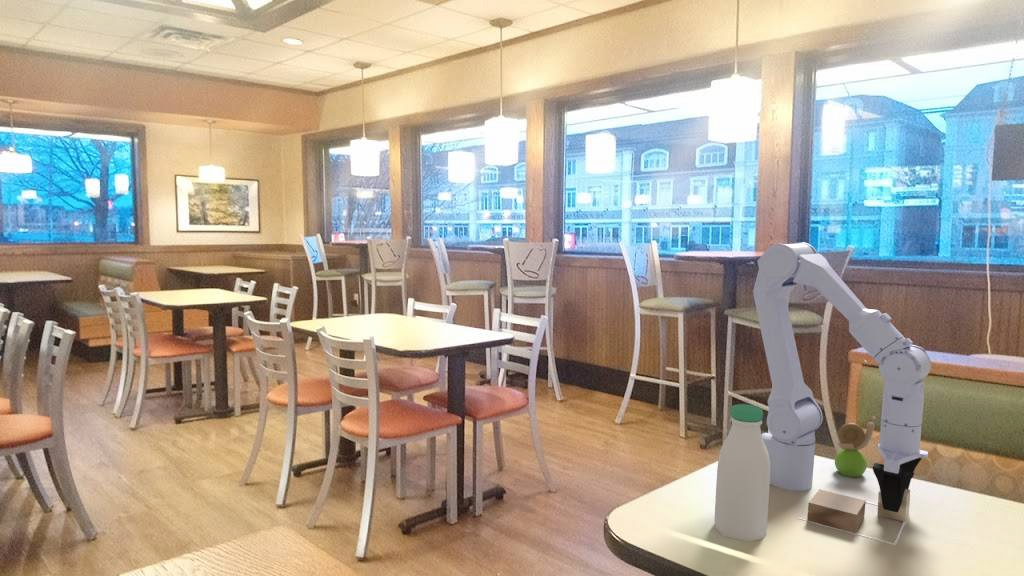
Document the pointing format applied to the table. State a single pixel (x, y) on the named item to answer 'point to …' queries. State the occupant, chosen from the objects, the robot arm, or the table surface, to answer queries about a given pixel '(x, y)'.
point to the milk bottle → (743, 478)
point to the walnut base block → (836, 510)
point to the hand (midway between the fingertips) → (894, 502)
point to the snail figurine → (853, 448)
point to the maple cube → (903, 510)
